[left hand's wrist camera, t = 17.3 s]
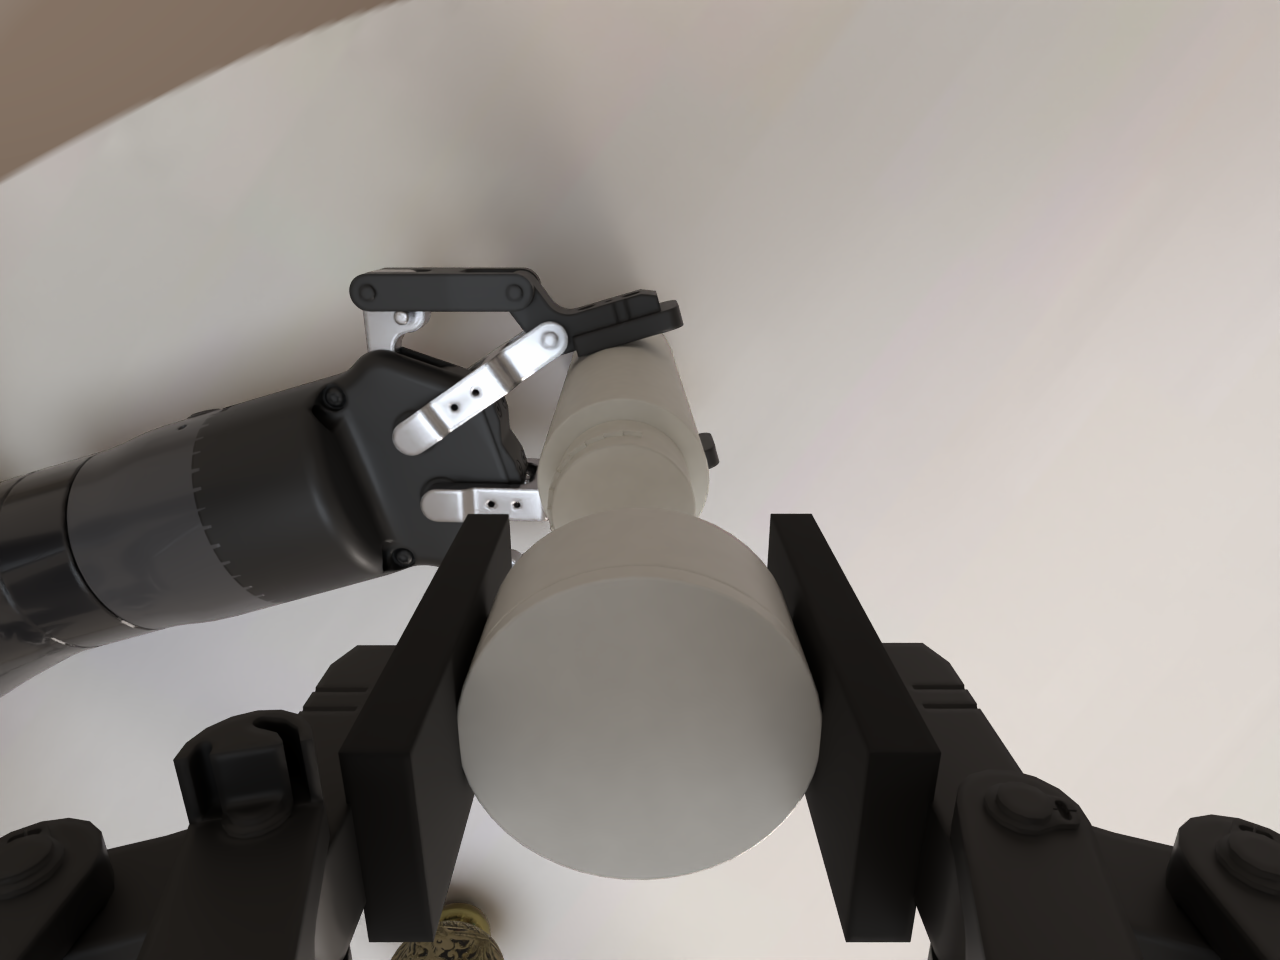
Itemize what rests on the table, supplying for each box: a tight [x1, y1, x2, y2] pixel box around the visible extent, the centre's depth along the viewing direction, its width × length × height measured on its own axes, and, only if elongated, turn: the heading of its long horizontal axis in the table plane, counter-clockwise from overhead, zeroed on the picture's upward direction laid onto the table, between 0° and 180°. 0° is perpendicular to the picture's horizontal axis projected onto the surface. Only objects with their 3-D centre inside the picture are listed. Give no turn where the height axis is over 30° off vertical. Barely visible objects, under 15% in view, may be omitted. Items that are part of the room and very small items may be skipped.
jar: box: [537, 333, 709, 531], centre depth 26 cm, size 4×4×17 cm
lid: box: [457, 508, 822, 880], centre depth 11 cm, size 5×5×2 cm
